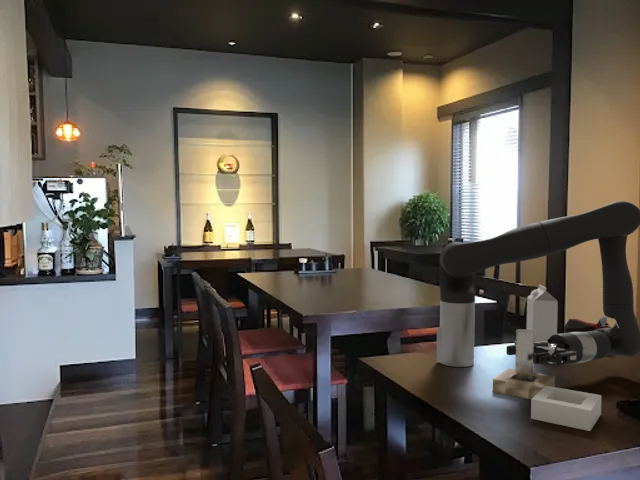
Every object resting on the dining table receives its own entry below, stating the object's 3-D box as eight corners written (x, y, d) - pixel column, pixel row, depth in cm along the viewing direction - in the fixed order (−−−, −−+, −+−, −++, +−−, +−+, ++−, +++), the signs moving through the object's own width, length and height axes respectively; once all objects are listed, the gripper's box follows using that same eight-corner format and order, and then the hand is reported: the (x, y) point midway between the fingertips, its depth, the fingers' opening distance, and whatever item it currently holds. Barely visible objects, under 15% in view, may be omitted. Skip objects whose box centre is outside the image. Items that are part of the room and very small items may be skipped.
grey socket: (530, 418, 115) (531, 399, 114) (545, 403, 124) (545, 385, 123) (590, 431, 108) (590, 410, 108) (600, 414, 117) (601, 395, 117)
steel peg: (512, 390, 132) (513, 331, 131) (517, 386, 135) (519, 328, 135) (530, 394, 130) (531, 333, 129) (535, 389, 133) (536, 330, 132)
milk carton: (549, 345, 177) (550, 284, 176) (556, 350, 170) (558, 287, 169) (526, 344, 178) (527, 284, 177) (532, 350, 171) (533, 287, 169)
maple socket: (492, 391, 131) (492, 379, 131) (507, 380, 140) (508, 368, 140) (541, 401, 125) (542, 388, 125) (554, 388, 134) (554, 376, 134)
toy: (616, 307, 172) (562, 308, 177) (619, 332, 165) (563, 331, 171) (615, 332, 179) (564, 332, 185) (619, 357, 172) (565, 356, 178)
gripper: (549, 327, 145) (499, 332, 138) (597, 338, 132) (544, 345, 125) (548, 356, 145) (498, 363, 138) (596, 370, 132) (543, 379, 125)
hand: (520, 354), depth 132 cm, fingers open, 8 cm apart
